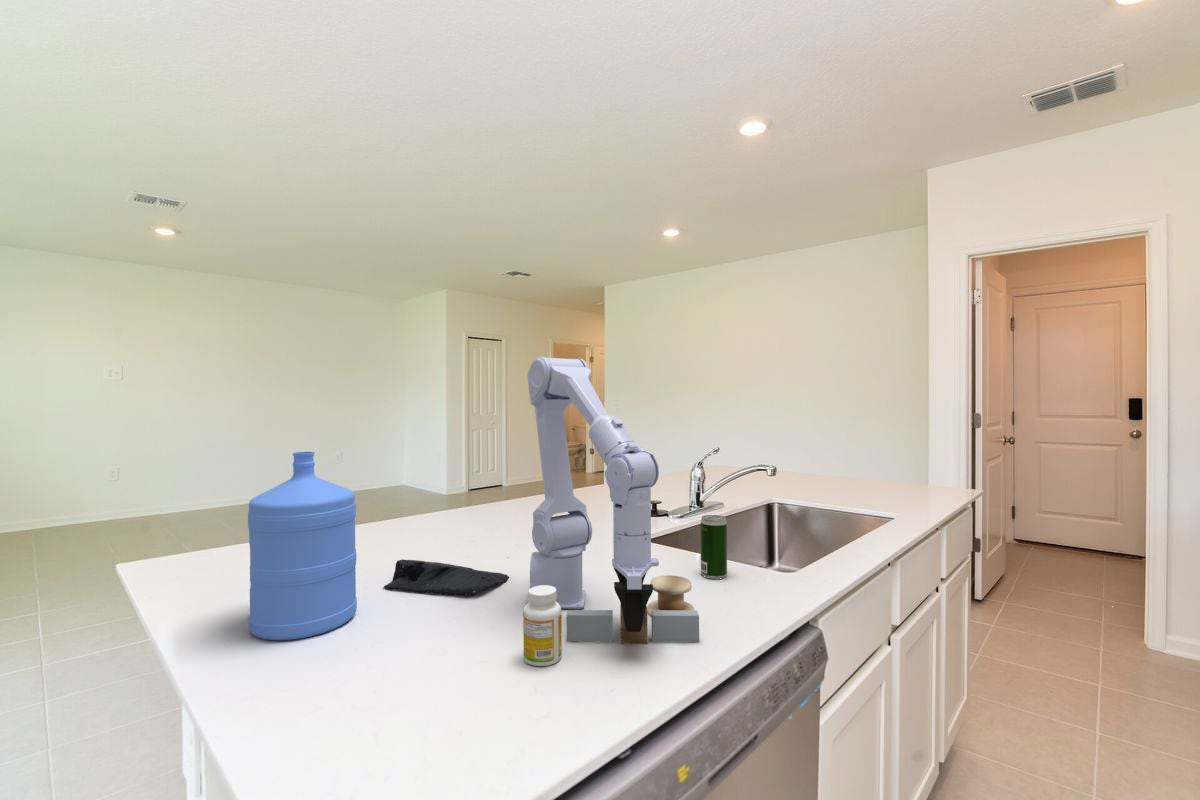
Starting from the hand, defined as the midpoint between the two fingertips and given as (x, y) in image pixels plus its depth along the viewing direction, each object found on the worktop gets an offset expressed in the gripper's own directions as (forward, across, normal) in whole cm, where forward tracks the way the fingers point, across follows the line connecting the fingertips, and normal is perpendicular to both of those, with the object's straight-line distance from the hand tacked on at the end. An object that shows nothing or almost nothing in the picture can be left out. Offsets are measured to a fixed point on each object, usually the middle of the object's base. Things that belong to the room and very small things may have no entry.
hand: (632, 619), depth 82 cm
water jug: (+3, +6, +54) cm, 54 cm away
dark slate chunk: (+4, +24, +36) cm, 43 cm away
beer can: (+3, +29, -18) cm, 34 cm away
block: (+3, 0, 0) cm, 3 cm away
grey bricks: (+3, 0, 0) cm, 3 cm away
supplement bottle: (+3, -6, +13) cm, 15 cm away
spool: (+3, +10, -7) cm, 13 cm away
